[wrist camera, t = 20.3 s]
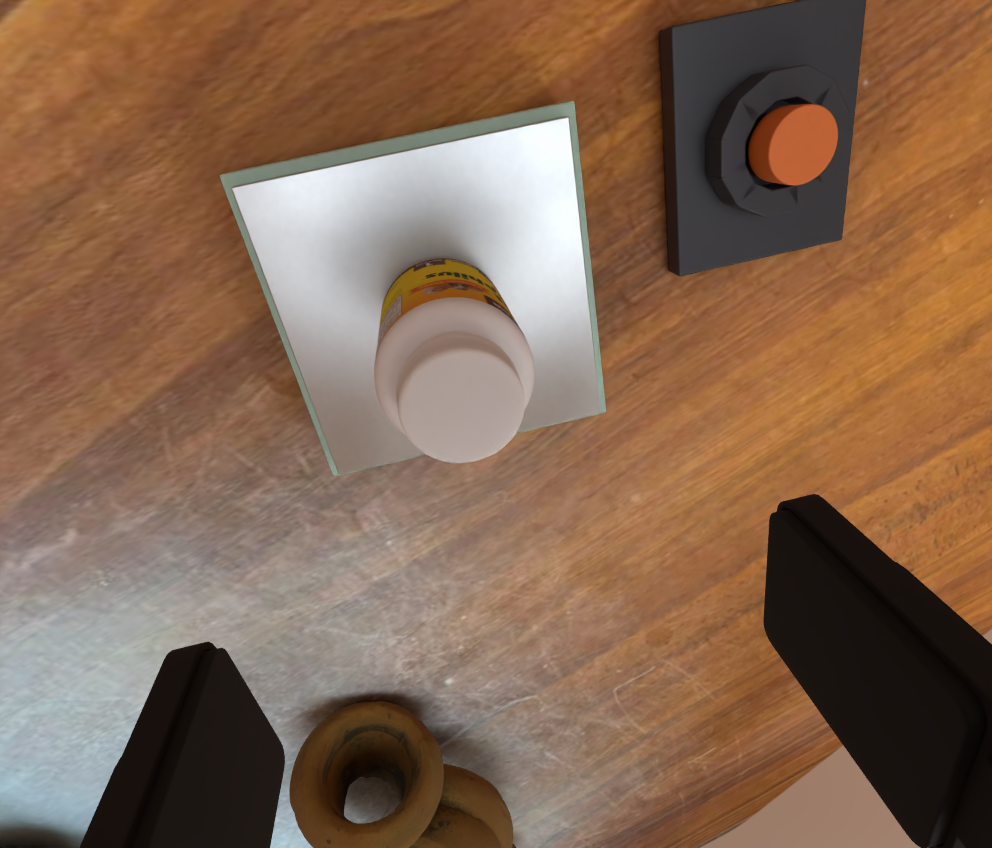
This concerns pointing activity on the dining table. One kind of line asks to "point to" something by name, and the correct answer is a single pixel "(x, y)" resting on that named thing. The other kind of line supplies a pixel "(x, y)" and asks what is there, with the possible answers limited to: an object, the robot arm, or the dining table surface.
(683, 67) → the block
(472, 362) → the supplement bottle
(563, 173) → the scale
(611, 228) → the dining table surface
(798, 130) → the tare button
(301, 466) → the dining table surface
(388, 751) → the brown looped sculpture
